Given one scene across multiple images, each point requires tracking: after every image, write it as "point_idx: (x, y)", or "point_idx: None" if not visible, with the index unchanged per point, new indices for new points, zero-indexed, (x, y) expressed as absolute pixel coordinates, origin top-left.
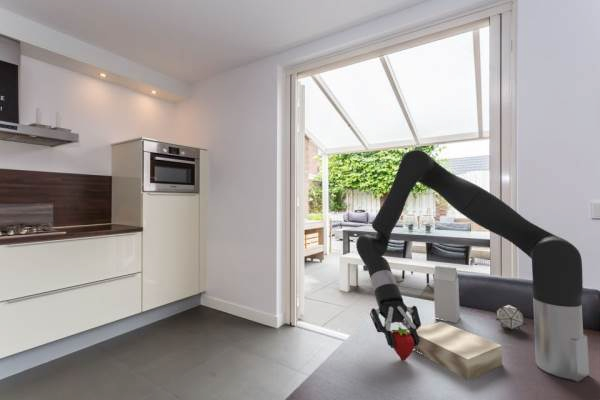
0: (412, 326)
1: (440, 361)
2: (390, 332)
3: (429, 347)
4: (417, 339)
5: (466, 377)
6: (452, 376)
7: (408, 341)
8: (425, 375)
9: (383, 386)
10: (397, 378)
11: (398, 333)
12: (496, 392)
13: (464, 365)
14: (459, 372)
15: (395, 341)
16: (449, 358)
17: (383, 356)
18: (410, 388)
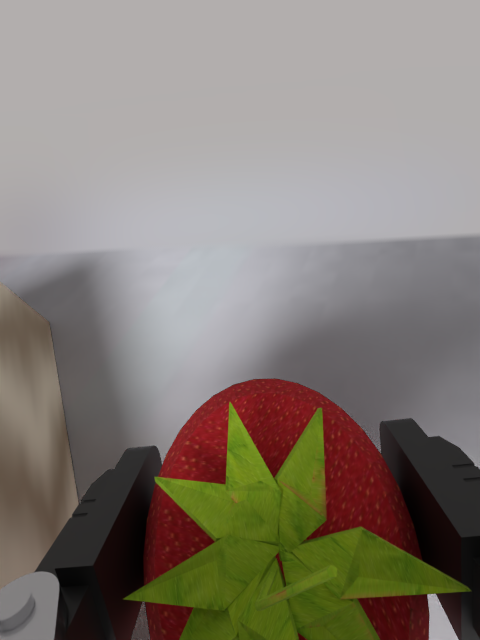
0: (32, 615)
1: (58, 452)
2: (473, 516)
3: (31, 541)
4: (120, 466)
5: (45, 326)
6: (91, 350)
7: (247, 386)
8: (212, 360)
9: (453, 281)
10: (370, 337)
11: (330, 519)
12: (20, 262)
13: (10, 303)
14: (46, 350)
15: (379, 453)
16: (20, 378)
17: (437, 636)
18: (325, 272)
